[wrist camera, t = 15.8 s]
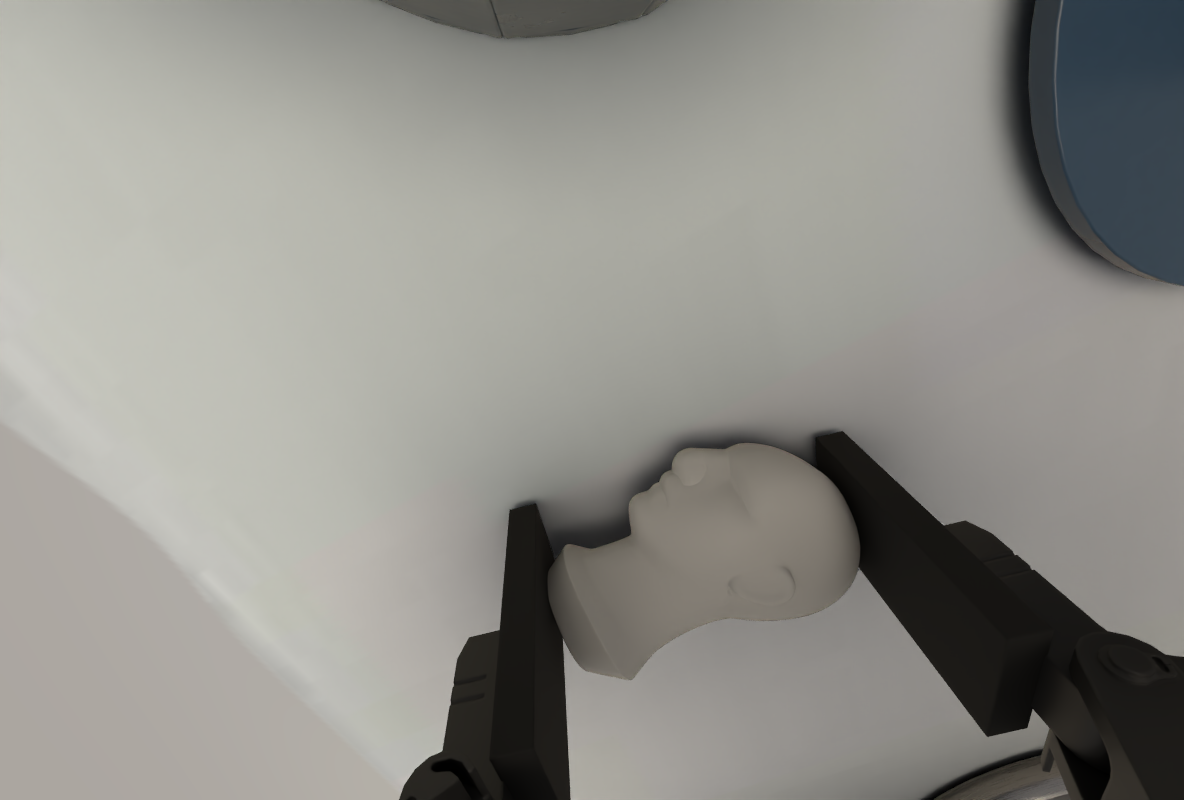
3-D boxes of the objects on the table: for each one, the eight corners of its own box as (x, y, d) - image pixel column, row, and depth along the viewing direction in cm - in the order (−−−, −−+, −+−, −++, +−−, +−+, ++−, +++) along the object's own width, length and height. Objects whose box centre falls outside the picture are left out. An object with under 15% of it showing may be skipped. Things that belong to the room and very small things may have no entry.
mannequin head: (787, 395, 15) (827, 551, 16) (527, 475, 15) (579, 625, 16) (868, 425, 11) (917, 637, 12) (507, 535, 11) (578, 736, 12)
